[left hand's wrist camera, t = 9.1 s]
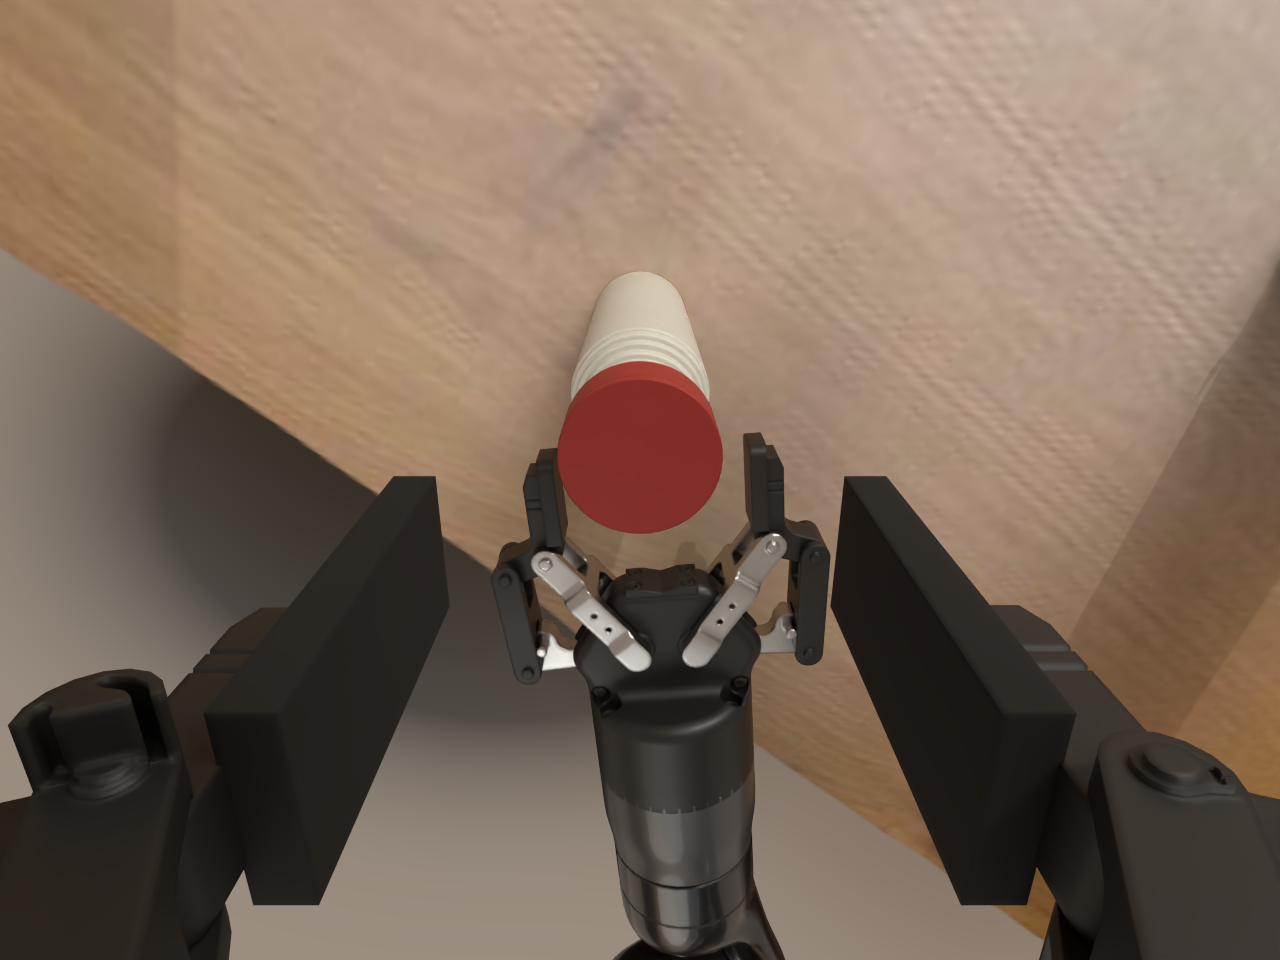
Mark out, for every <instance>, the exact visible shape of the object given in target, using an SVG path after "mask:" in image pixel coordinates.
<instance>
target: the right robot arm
mask: <svg viewBox="0 0 1280 960" xmlns="http://www.w3.org/2000/svg"><path fill="white" fill-rule="evenodd" d="M743 447H744V474H745V501H746V513H747V516H748V519H749V521H748V523H747V524H746V525H745V527H744V528H743V529H742V531H741V532H740V533H739V535H738V536H737V537H736V539H735V540H734V541H733V542H732V543H731V544H728V545H726V546H725V547H724V548H723V549H722V550H721V552H720V553H719V554H718V556H717V557H716V558H715V560H714V561H713V562H712V564H711V565H710V566H709V568H708V569H707V570H706V571H703V570H700V569H695V564H685V565H676V566H673V567H670V568H667V569H664V570H654V569H648V568H632V569H626V574H624V575H621V576H619V577H617V578H616V577H615V576H614V575H613V574H612V573H611V572H610V571H609V570H608V569H607V568H606V567H605V566H604V565H603V564H602V563H601V562H600V561H598V560H597V559H596V558H595V557H594V556H592V555H587V554H585V553H584V552H583V551H582V550H581V549H580V548H579V547H578V546H577V545H576V544H575V543H574V542H573V541H572V540H570V539H569V538H568V537H567V536H566V530H567V526H568V520H567V513H566V506H565V498H564V491H563V483H562V480H561V478H560V473H559V469H558V461H557V451H558V449H557V448H551V449H540V451H539V454H538V457H537V460H536V463H531V464H530V466H529V469H528V471H527V474H526V477H525V481H524V485H523V493H524V499H525V505H526V512H527V518H528V525H529V531H530V538H529V539H527V540H525V541H523V542H521V543H516V542H511V543H507V544H506V545H504V546H503V547H502V549H501V552H500V555H499V560H498V563H497V566H496V568H495V569H494V571H493V574H492V577H491V583H492V587H493V591H494V595H495V599H496V603H497V607H498V611H499V615H500V619H501V623H502V627H503V630H504V635H505V639H506V642H507V647H508V651H509V655H510V659H511V663H512V667H513V670H514V674H515V677H516V679H517V680H518V681H519V682H521V683H523V684H527V685H529V684H534V683H536V682H538V681H539V679H540V678H541V674H542V671H545V670H553V669H561V668H570V667H576V668H577V669H578V670H579V671H580V673H581V674H582V675H583V676H584V678H585V679H586V681H587V683H588V687H589V692H590V700H591V707H592V714H593V722H594V729H595V737H596V744H597V751H598V759H599V766H600V774H601V781H602V788H603V796H604V802H605V808H606V813H607V817H608V820H609V823H610V826H611V830H612V832H613V836H614V841H615V848H616V856H617V863H618V871H619V878H620V886H621V893H622V899H623V905H624V908H625V911H626V914H627V918H628V920H629V922H630V924H631V926H632V928H633V929H634V931H635V932H636V934H637V935H638V936H639V937H640V938H641V939H640V940H638V941H636V942H635V943H633V944H632V945H630V946H628V947H627V948H625V949H624V950H622V951H621V952H620V953H619V954H618V955H617V956H616V957H615V958H614V959H613V960H785V958H784V955H783V952H782V950H781V947H780V945H779V943H778V941H777V939H776V937H775V935H774V933H773V931H772V929H771V927H770V924H769V922H768V920H767V918H766V915H765V912H764V909H763V906H762V903H761V900H760V897H759V894H758V891H757V888H756V885H755V882H754V878H753V852H752V832H751V830H752V819H753V813H754V805H755V775H754V746H753V720H752V694H751V671H752V668H753V665H754V663H755V661H756V660H757V658H758V657H759V655H760V654H762V653H795V657H796V659H797V661H798V662H799V663H801V664H803V665H813V664H816V663H817V662H819V661H820V659H821V658H822V655H823V645H824V632H825V619H826V606H827V593H828V580H829V567H830V553H829V551H828V549H827V547H826V545H825V543H824V541H823V538H822V536H821V534H820V532H819V530H818V528H817V526H816V525H815V524H814V523H813V522H811V521H807V520H804V521H800V522H795V521H791V520H788V519H786V518H785V517H784V468H783V465H782V463H781V461H780V459H779V457H778V455H777V453H776V450H775V448H774V446H773V445H766V444H765V441H764V439H763V437H762V435H761V433H760V432H759V433H746V434H744V435H743ZM781 558H784V559H788V560H789V576H788V594H787V603H786V602H780V603H779V604H778V606H777V607H776V608H775V609H774V610H773V613H772V617H771V619H770V620H769V621H768V622H767V623H765V624H763V625H757V624H756V622H755V621H754V619H753V618H752V617H751V616H750V615H749V614H748V613H747V612H746V610H747V609H748V607H749V606H750V605H751V604H752V602H753V601H754V600H755V598H756V597H757V595H758V593H759V590H760V585H761V583H762V582H763V580H764V579H765V578H766V576H767V575H768V574H769V573H770V571H771V570H772V569H773V568H774V566H775V565H776V564H777V563H778V561H779V560H780V559H781ZM537 576H539V577H540V578H541V579H542V580H543V581H545V582H546V583H547V584H548V585H549V586H550V587H551V588H552V589H553V590H554V591H555V592H556V593H558V594H559V595H560V596H561V597H562V599H563V600H564V603H565V605H566V607H567V609H568V610H569V611H570V613H571V614H573V615H574V616H575V617H576V618H577V619H578V620H579V621H580V622H581V623H582V626H581V627H580V629H579V630H578V632H577V634H576V637H575V639H569V638H566V637H564V636H562V635H561V634H560V632H559V630H558V628H557V626H556V625H555V624H554V623H552V621H551V620H549V619H545V620H542V616H541V612H540V607H539V603H538V598H537V594H536V590H535V585H534V581H533V578H535V577H537Z"/></svg>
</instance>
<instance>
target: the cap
mask: <svg viewBox="0 0 1280 960" xmlns="http://www.w3.org/2000/svg"><path fill="white" fill-rule="evenodd" d="M557 461H558V469H559V473H560V478H561V480H562V483H563V485H564V488H565V490H566V491H567V493H568V495H569V497H570V498H571V499H572V501H573V502H574V503H575V505H576V506H577V507H578V508H579V509H580V510H581V511H582V512H583V513H585V514H586V515H587V516H588V517H590V518H591V519H593V520H594V521H596V522H598V523H599V524H601V525H603V526H606V527H608V528H611V529H614V530H617V531H621V532H626V533H637V534H642V533H653V532H659V531H663V530H666V529H670V528H672V527H674V526H677V525H679V524H681V523H682V522H684V521H686V520H687V519H689V518H690V517H692V516H693V515H694V514H695V513H697V512H698V511H699V510H700V509H701V508H702V507H703V506H704V504H705V503H706V502H707V501H708V499H709V498H710V496H711V495H712V493H713V491H714V490H715V488H716V485H717V483H718V480H719V477H720V473H721V469H722V461H723V450H722V443H721V438H720V435H719V431H718V428H717V425H716V421H715V418H714V415H713V412H712V408H711V406H710V404H709V402H708V400H707V398H706V397H705V395H704V394H703V392H702V391H701V390H700V388H699V387H698V386H697V385H696V384H695V383H694V382H693V381H692V380H691V379H690V378H688V377H687V376H685V375H684V374H683V373H681V372H679V371H677V370H675V369H673V368H671V367H669V366H666V365H663V364H660V363H655V362H648V361H631V362H625V363H620V364H617V365H614V366H611V367H609V368H607V369H604V370H602V371H601V372H599V373H597V374H596V375H594V376H593V377H592V378H590V379H589V380H588V381H587V382H586V383H585V384H584V385H583V386H582V387H581V388H580V389H579V391H578V392H577V394H576V395H575V397H574V398H573V400H572V402H571V404H570V406H569V408H568V412H567V415H566V418H565V421H564V424H563V428H562V431H561V434H560V438H559V443H558V451H557Z"/></svg>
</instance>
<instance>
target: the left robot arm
mask: <svg viewBox="0 0 1280 960" xmlns="http://www.w3.org/2000/svg"><path fill="white" fill-rule="evenodd" d="M448 608H449V598H448V589H447V579H446V570H445V561H444V551H443V542H442V533H441V523H440V514H439V505H438V495H437V486H436V477H435V476H394V477H393V478H392V479H391V480H390V482H389V483H388V484H387V485H386V487H385V488H384V489H383V490H382V492H381V493H380V494H379V495H378V497H377V498H376V499H375V500H374V502H373V503H372V504H371V505H370V507H369V508H368V509H367V510H366V512H365V513H364V514H363V515H362V516H361V518H360V519H359V520H358V521H357V523H356V524H355V525H354V526H353V528H352V529H351V530H350V531H349V533H348V534H347V535H346V536H345V538H344V539H343V540H342V541H341V543H340V544H339V545H338V547H337V548H336V549H335V550H334V551H333V553H332V554H331V555H330V556H329V558H328V559H327V560H326V561H325V563H324V564H323V565H322V566H321V568H320V569H319V570H318V571H317V572H316V574H315V575H314V576H313V577H312V579H311V580H310V581H309V582H308V584H307V585H306V586H305V587H304V589H303V590H302V591H301V592H300V594H299V595H298V596H297V597H296V599H295V600H294V601H293V602H292V604H291V605H290V606H289V607H288V608H260V609H259V610H257V611H256V612H254V613H252V614H251V615H249V616H247V617H246V618H244V619H243V620H241V621H239V622H238V623H236V624H235V625H233V626H231V627H230V628H229V629H228V630H227V631H226V633H225V634H224V635H223V636H222V637H221V638H220V639H219V640H218V641H217V643H216V644H215V645H214V646H213V647H212V648H211V649H210V654H206V655H205V656H204V657H203V658H202V659H201V660H200V662H199V663H198V664H197V665H196V666H195V667H194V668H193V673H189V674H188V675H187V676H186V677H185V678H184V679H183V680H182V682H181V683H180V684H179V685H178V686H177V687H176V688H175V689H174V691H173V692H172V693H171V694H170V695H169V696H168V697H167V694H166V691H165V687H164V684H163V680H162V679H160V678H159V677H157V676H156V675H154V674H153V673H152V672H149V671H142V670H135V669H123V670H113V671H103V672H100V673H96V674H93V675H89V676H85V677H82V678H78V679H74V680H72V681H70V682H68V683H66V684H63V685H61V686H59V687H57V688H54V689H52V690H50V691H48V692H46V693H44V694H43V695H41V696H40V697H38V698H37V699H35V700H34V701H32V702H31V703H29V704H28V705H27V706H25V707H24V708H22V709H21V711H20V712H19V713H18V714H17V715H16V716H15V718H14V719H13V720H12V721H11V722H10V723H9V724H8V727H9V730H10V732H11V735H12V737H13V740H14V743H15V745H16V748H17V751H18V753H19V756H20V758H21V761H22V764H23V766H24V769H25V772H26V774H27V777H28V779H29V782H30V785H31V787H32V790H33V793H32V795H31V796H29V797H25V798H21V799H16V800H12V801H7V802H3V803H0V960H229V952H230V942H231V927H230V921H229V916H228V912H227V909H226V905H225V902H226V900H227V898H228V896H229V895H230V893H231V891H232V889H233V888H234V886H235V884H236V882H237V881H238V879H239V877H240V875H241V873H242V872H243V870H244V871H245V875H246V879H247V883H248V887H249V890H250V894H251V898H252V902H253V905H319V903H320V901H321V899H322V897H323V895H324V892H325V890H326V888H327V885H328V883H329V881H330V878H331V876H332V874H333V872H334V869H335V867H336V865H337V862H338V860H339V858H340V856H341V853H342V851H343V849H344V846H345V844H346V842H347V840H348V837H349V835H350V833H351V830H352V828H353V826H354V824H355V821H356V819H357V817H358V814H359V812H360V810H361V808H362V805H363V803H364V800H365V798H366V796H367V794H368V792H369V789H370V787H371V785H372V782H373V780H374V778H375V775H376V773H377V771H378V769H379V766H380V764H381V762H382V759H383V757H384V755H385V752H386V750H387V748H388V746H389V743H390V741H391V739H392V737H393V734H394V732H395V730H396V727H397V725H398V723H399V720H400V718H401V716H402V714H403V711H404V709H405V707H406V705H407V702H408V700H409V698H410V695H411V693H412V691H413V688H414V686H415V684H416V682H417V679H418V677H419V675H420V672H421V670H422V668H423V665H424V663H425V661H426V659H427V656H428V654H429V652H430V650H431V647H432V645H433V643H434V640H435V638H436V636H437V634H438V631H439V629H440V627H441V624H442V622H443V620H444V618H445V615H446V613H447V610H448ZM831 608H832V611H833V613H834V615H835V618H836V620H837V622H838V624H839V627H840V629H841V631H842V634H843V636H844V638H845V640H846V643H847V645H848V647H849V650H850V652H851V654H852V656H853V659H854V661H855V663H856V666H857V668H858V670H859V672H860V675H861V677H862V679H863V682H864V684H865V686H866V689H867V691H868V693H869V695H870V698H871V700H872V702H873V705H874V707H875V709H876V711H877V714H878V716H879V718H880V721H881V723H882V725H883V727H884V730H885V732H886V734H887V737H888V739H889V741H890V743H891V746H892V748H893V750H894V753H895V755H896V757H897V759H898V762H899V764H900V766H901V769H902V771H903V773H904V776H905V778H906V780H907V782H908V785H909V787H910V789H911V792H912V794H913V796H914V798H915V801H916V803H917V805H918V808H919V810H920V812H921V814H922V817H923V819H924V821H925V824H926V826H927V828H928V830H929V833H930V835H931V837H932V840H933V842H934V844H935V846H936V849H937V851H938V853H939V856H940V858H941V860H942V863H943V865H944V867H945V869H946V872H947V874H948V876H949V879H950V881H951V883H952V885H953V888H954V890H955V892H956V895H957V897H958V899H959V901H960V904H961V905H1027V902H1028V898H1029V894H1030V890H1031V886H1032V883H1033V879H1034V875H1035V871H1036V867H1037V868H1038V870H1039V871H1040V873H1041V875H1042V877H1043V878H1044V880H1045V882H1046V884H1047V885H1048V887H1049V889H1050V891H1051V892H1052V894H1053V896H1054V898H1055V899H1056V901H1055V905H1054V908H1053V912H1052V916H1051V919H1050V923H1049V926H1048V930H1047V933H1046V937H1045V941H1044V944H1043V948H1042V951H1041V955H1040V958H1039V960H1280V799H1275V798H1270V797H1266V796H1261V795H1256V794H1253V793H1249V792H1248V791H1247V790H1246V788H1245V787H1244V786H1243V784H1242V783H1241V782H1240V780H1239V779H1238V777H1237V776H1236V775H1235V773H1234V772H1233V771H1231V770H1230V769H1229V768H1228V767H1226V766H1225V765H1224V764H1222V763H1221V762H1220V761H1219V760H1217V759H1216V758H1215V757H1214V756H1212V755H1210V754H1209V753H1207V752H1205V751H1203V750H1201V749H1199V748H1197V747H1195V746H1193V745H1191V744H1189V743H1187V742H1185V741H1182V740H1179V739H1176V738H1172V737H1169V736H1166V735H1163V734H1160V733H1155V732H1147V731H1146V730H1145V729H1144V728H1143V727H1142V726H1141V725H1140V723H1139V722H1138V721H1137V720H1136V719H1135V718H1134V717H1133V716H1132V715H1131V714H1130V712H1129V711H1128V710H1127V709H1126V708H1125V707H1124V706H1123V705H1122V704H1121V702H1120V701H1119V700H1118V699H1117V698H1116V697H1115V696H1114V695H1113V694H1112V692H1111V691H1110V690H1109V689H1108V688H1107V687H1106V686H1105V685H1104V684H1103V682H1102V681H1101V680H1100V679H1099V678H1098V677H1097V676H1096V675H1095V674H1094V673H1093V671H1088V669H1087V665H1086V664H1085V663H1084V661H1083V660H1082V659H1081V658H1080V657H1079V656H1078V655H1077V654H1076V653H1075V652H1071V649H1070V646H1069V645H1068V644H1067V643H1066V641H1065V640H1064V639H1063V638H1062V637H1061V636H1060V635H1059V634H1058V633H1057V632H1056V630H1055V629H1054V628H1053V627H1052V626H1051V625H1050V624H1049V623H1047V622H1045V621H1044V620H1042V619H1040V618H1039V617H1037V616H1035V615H1034V614H1032V613H1031V612H1029V611H1027V610H1026V609H1024V608H1022V607H1021V606H1019V605H989V604H988V602H987V601H986V600H985V599H984V597H983V596H982V595H981V594H980V592H979V591H978V590H977V589H976V587H975V586H974V585H973V584H972V582H971V581H970V580H969V579H968V577H967V576H966V575H965V574H964V572H963V571H962V570H961V569H960V567H959V566H958V565H957V564H956V563H955V561H954V560H953V559H952V558H951V556H950V555H949V554H948V553H947V551H946V550H945V549H944V548H943V546H942V545H941V544H940V543H939V541H938V540H937V539H936V538H935V536H934V535H933V534H932V533H931V531H930V530H929V529H928V528H927V526H926V525H925V524H924V523H923V521H922V520H921V519H920V518H919V516H918V515H917V514H916V513H915V512H914V510H913V509H912V508H911V507H910V505H909V504H908V503H907V502H906V500H905V499H904V498H903V497H902V495H901V494H900V493H899V492H898V490H897V489H896V488H895V487H894V485H893V484H892V483H891V482H890V480H889V479H888V478H887V477H886V476H845V477H844V486H843V495H842V505H841V514H840V523H839V533H838V542H837V551H836V561H835V570H834V579H833V589H832V598H831Z"/></svg>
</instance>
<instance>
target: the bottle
mask: <svg viewBox="0 0 1280 960" xmlns="http://www.w3.org/2000/svg"><path fill="white" fill-rule="evenodd" d="M631 361H648V362H655V363H660V364H663V365H666V366H669V367H671V368H673V369H675V370H677V371H679V372H681V373H683V374H684V375H685V376H687V377H688V378H690V379H691V380H692V381H693V382H694V383H695V384H696V385H697V386H698V387H699V388H700V390H701V391H702V392H703V394H704V395H705V397H706V398H707V400H708V402H709V399H710V391H709V383H708V378H707V375H706V371H705V368H704V365H703V362H702V359H701V356H700V353H699V350H698V347H697V344H696V341H695V338H694V335H693V331H692V328H691V325H690V322H689V319H688V316H687V313H686V310H685V307H684V304H683V301H682V299H681V296H680V295H679V293H678V291H677V290H676V289H675V288H674V286H673V285H672V284H671V283H669V282H668V281H667V280H665V279H664V278H662V277H660V276H658V275H656V274H653V273H649V272H631V273H627V274H624V275H622V276H620V277H618V278H616V279H615V280H613V281H612V282H611V283H609V284H608V285H607V286H606V288H605V289H604V290H603V291H602V293H601V294H600V296H599V299H598V301H597V304H596V307H595V310H594V313H593V316H592V319H591V322H590V325H589V328H588V332H587V335H586V338H585V341H584V344H583V347H582V350H581V353H580V356H579V359H578V362H577V365H576V368H575V372H574V375H573V378H572V383H571V391H570V399H571V402H572V400H573V398H574V397H575V395H576V394H577V392H578V391H579V389H580V388H581V387H582V386H583V385H584V384H585V383H586V382H587V381H588V380H589V379H590V378H592V377H593V376H594V375H596V374H597V373H599V372H601V371H602V370H604V369H607V368H609V367H611V366H614V365H617V364H620V363H625V362H631Z"/></svg>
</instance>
